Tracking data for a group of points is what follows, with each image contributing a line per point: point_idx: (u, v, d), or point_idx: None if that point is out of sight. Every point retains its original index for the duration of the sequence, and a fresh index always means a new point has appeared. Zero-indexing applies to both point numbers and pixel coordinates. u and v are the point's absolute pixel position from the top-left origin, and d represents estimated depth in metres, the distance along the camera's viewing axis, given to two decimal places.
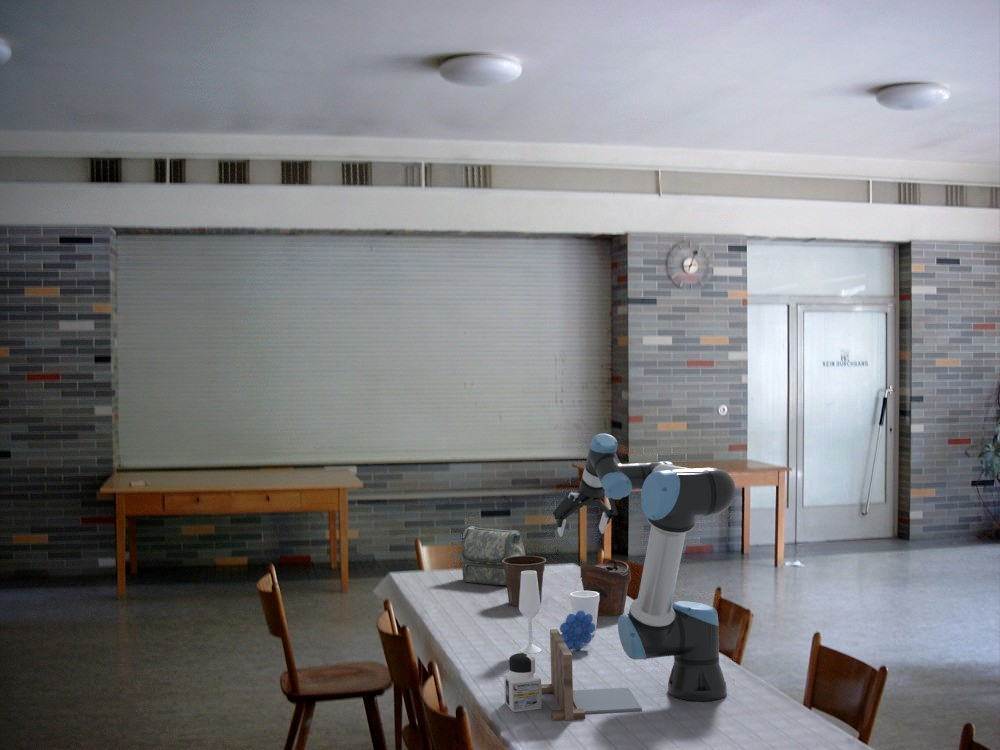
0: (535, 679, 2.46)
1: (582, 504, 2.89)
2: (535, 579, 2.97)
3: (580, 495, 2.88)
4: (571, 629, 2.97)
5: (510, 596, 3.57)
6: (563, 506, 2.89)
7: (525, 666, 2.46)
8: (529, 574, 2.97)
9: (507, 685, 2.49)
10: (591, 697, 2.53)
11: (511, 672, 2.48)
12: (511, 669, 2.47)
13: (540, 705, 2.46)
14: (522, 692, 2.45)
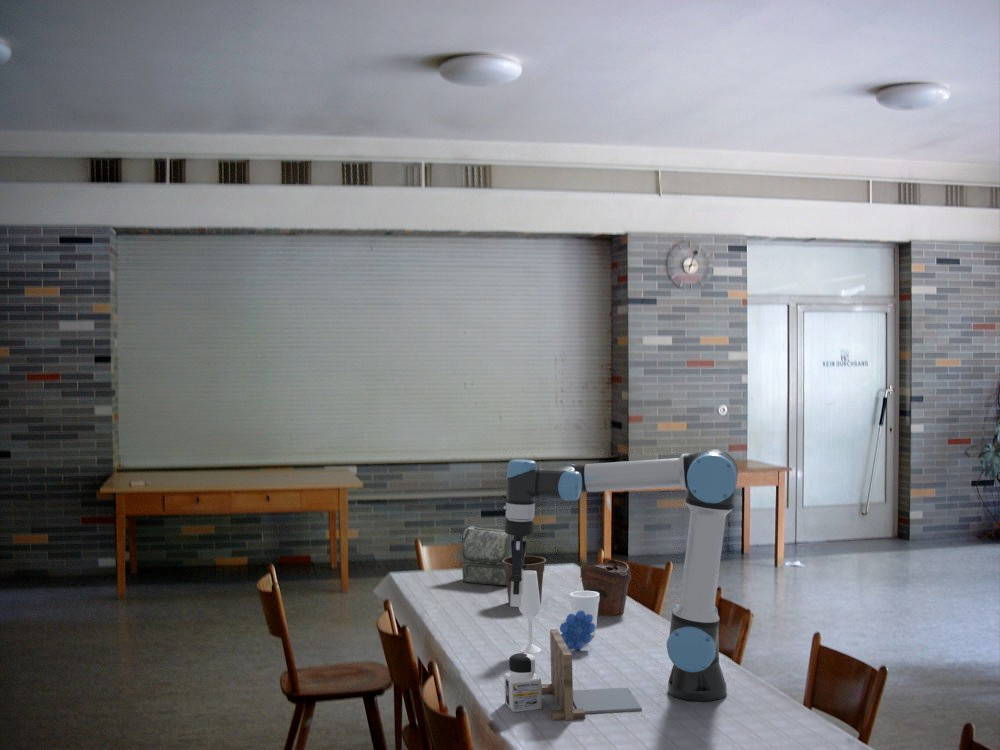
0: (535, 679, 2.46)
1: (524, 551, 2.52)
2: (535, 579, 2.97)
3: (521, 541, 2.51)
4: (571, 629, 2.97)
5: (510, 596, 3.57)
6: (519, 561, 2.47)
7: (525, 666, 2.46)
8: (529, 574, 2.97)
9: (507, 685, 2.49)
10: (591, 697, 2.53)
11: (511, 672, 2.48)
12: (511, 669, 2.47)
13: (540, 705, 2.46)
14: (522, 692, 2.45)
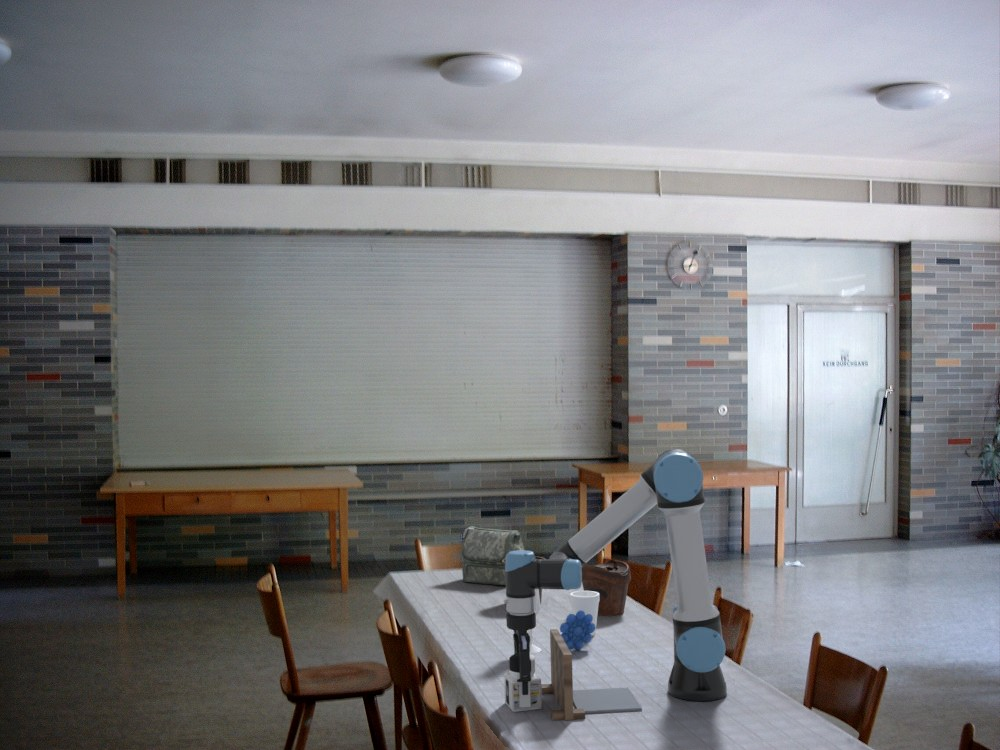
0: (535, 679, 2.46)
1: (529, 645, 2.47)
2: None
3: (526, 635, 2.46)
4: (571, 629, 2.97)
5: None
6: (527, 661, 2.42)
7: None
8: None
9: (507, 685, 2.49)
10: (591, 697, 2.53)
11: (511, 672, 2.48)
12: (511, 669, 2.47)
13: (540, 705, 2.46)
14: None
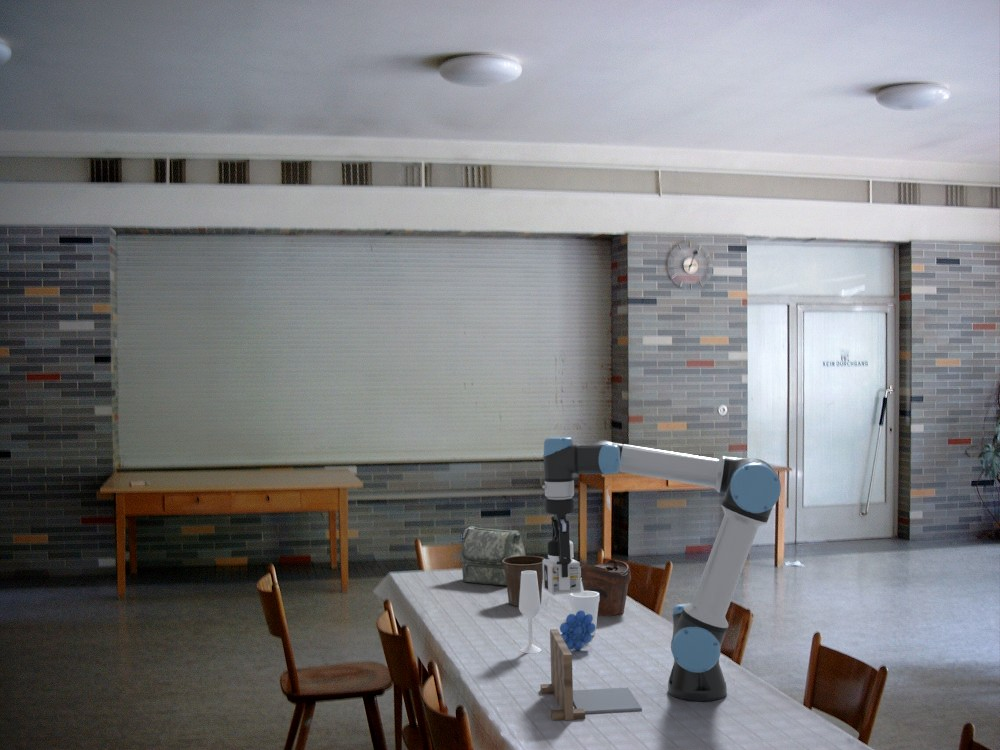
0: (574, 563, 2.47)
1: None
2: (535, 579, 2.97)
3: (565, 519, 2.46)
4: (571, 629, 2.97)
5: (510, 596, 3.57)
6: (567, 543, 2.43)
7: None
8: (529, 574, 2.97)
9: (546, 570, 2.50)
10: (591, 697, 2.53)
11: (550, 556, 2.48)
12: (550, 553, 2.48)
13: (579, 589, 2.47)
14: None
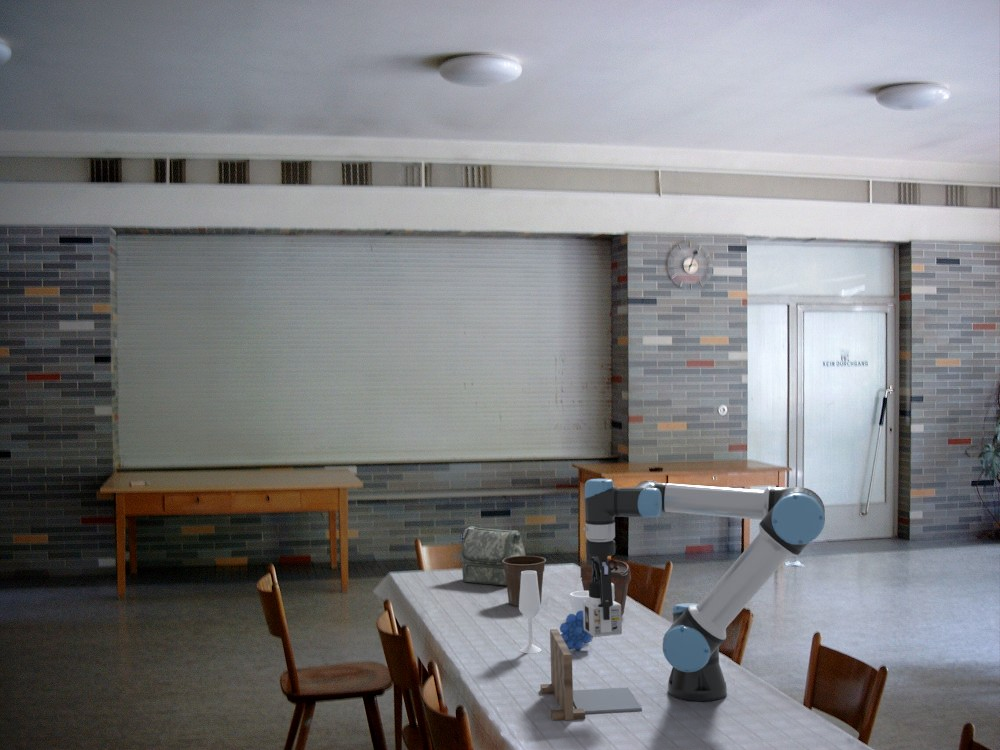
0: (615, 605, 2.48)
1: None
2: (535, 579, 2.97)
3: (607, 561, 2.47)
4: (571, 629, 2.97)
5: (510, 596, 3.57)
6: (609, 585, 2.44)
7: None
8: (529, 574, 2.97)
9: (587, 612, 2.51)
10: (591, 697, 2.53)
11: (591, 598, 2.49)
12: (591, 595, 2.49)
13: (620, 631, 2.48)
14: None
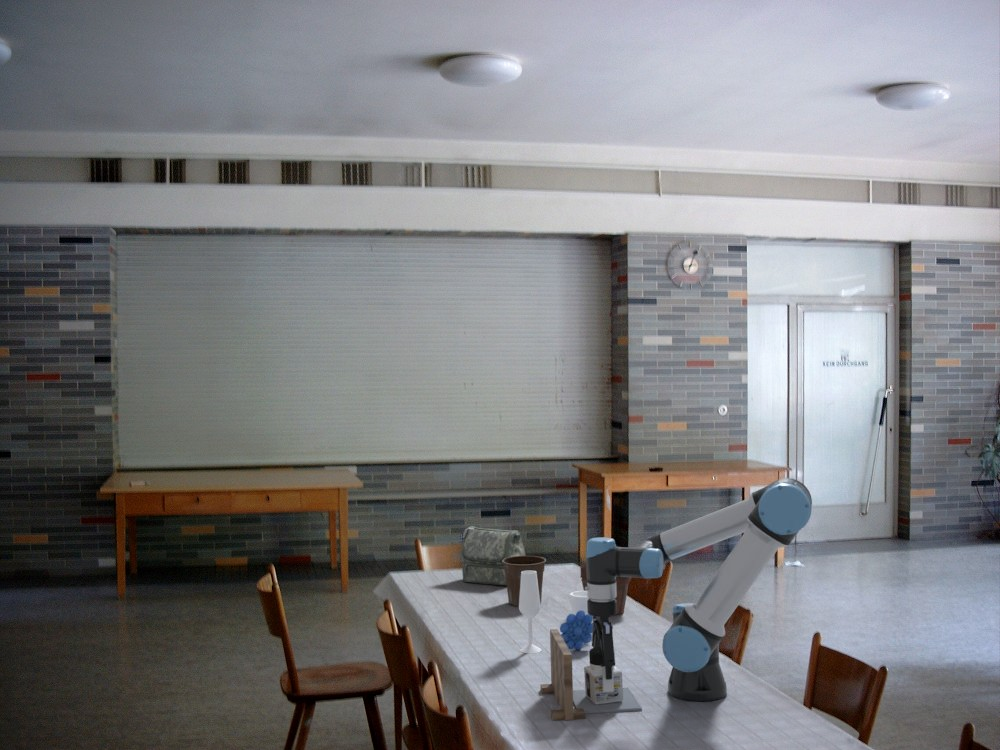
0: (615, 672, 2.48)
1: None
2: (535, 579, 2.97)
3: (608, 621, 2.47)
4: (571, 629, 2.97)
5: (510, 596, 3.57)
6: (611, 645, 2.43)
7: None
8: (529, 574, 2.97)
9: (588, 678, 2.51)
10: None
11: (591, 665, 2.49)
12: (591, 662, 2.49)
13: (622, 697, 2.48)
14: None
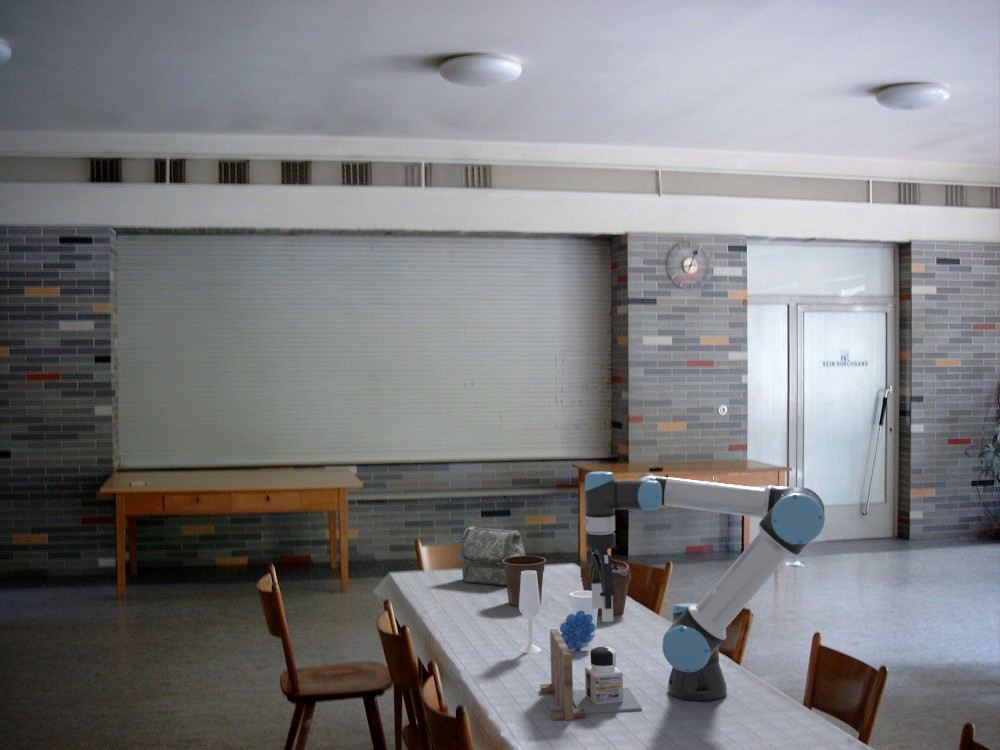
0: (616, 673, 2.48)
1: None
2: (535, 579, 2.97)
3: (607, 554, 2.47)
4: (571, 629, 2.97)
5: (510, 596, 3.57)
6: (610, 574, 2.43)
7: (607, 659, 2.48)
8: (529, 574, 2.97)
9: (588, 678, 2.51)
10: None
11: (592, 665, 2.49)
12: (593, 662, 2.49)
13: (622, 698, 2.48)
14: (604, 686, 2.47)
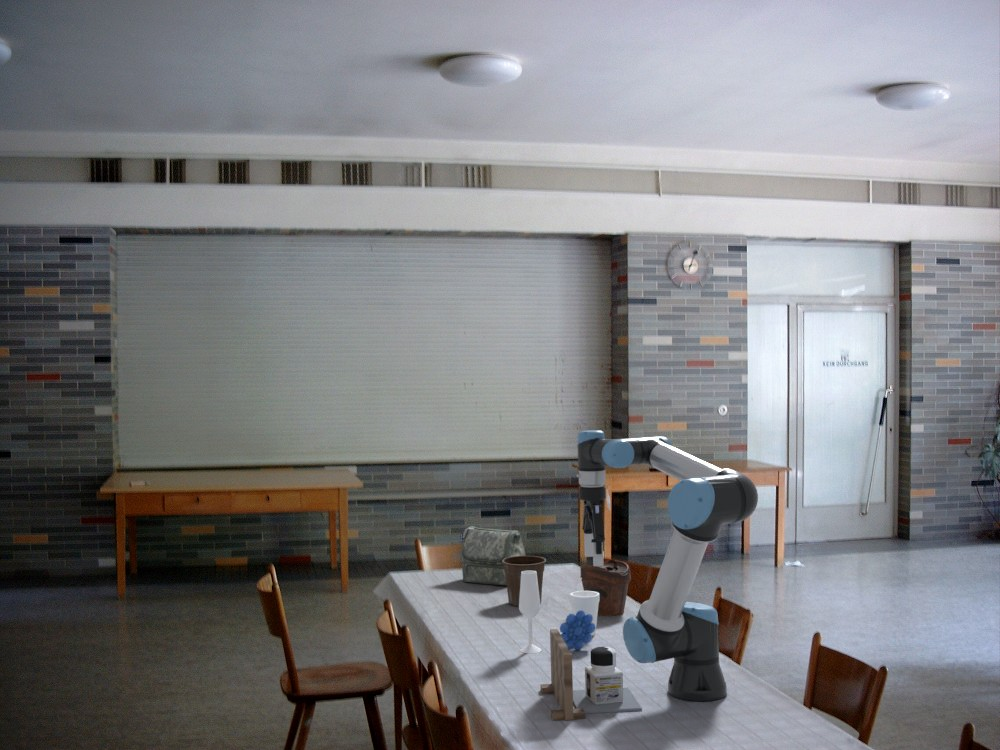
0: (616, 673, 2.48)
1: None
2: (535, 579, 2.97)
3: (598, 505, 2.70)
4: (571, 629, 2.97)
5: (510, 596, 3.57)
6: (600, 522, 2.66)
7: (607, 659, 2.48)
8: (529, 574, 2.97)
9: (588, 678, 2.51)
10: None
11: (592, 665, 2.49)
12: (593, 662, 2.49)
13: (622, 698, 2.48)
14: (604, 686, 2.47)
